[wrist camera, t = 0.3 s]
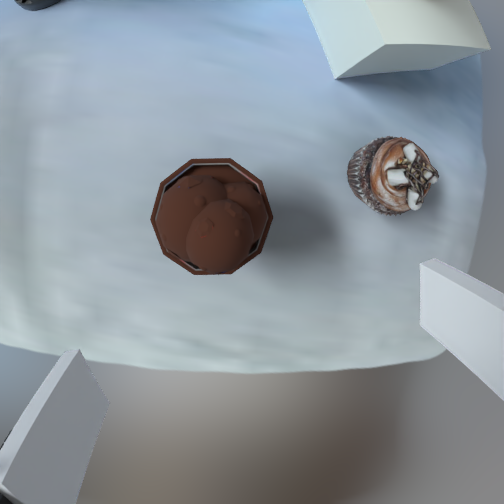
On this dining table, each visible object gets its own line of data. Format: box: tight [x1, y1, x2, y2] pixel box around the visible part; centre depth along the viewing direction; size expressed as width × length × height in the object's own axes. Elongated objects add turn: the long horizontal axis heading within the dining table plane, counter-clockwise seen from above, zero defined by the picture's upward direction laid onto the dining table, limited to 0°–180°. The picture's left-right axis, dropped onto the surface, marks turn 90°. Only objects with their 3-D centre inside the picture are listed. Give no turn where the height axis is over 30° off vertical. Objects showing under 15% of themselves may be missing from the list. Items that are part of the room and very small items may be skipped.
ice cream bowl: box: [150, 158, 273, 275], centre depth 29 cm, size 11×11×15 cm
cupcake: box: [347, 136, 439, 216], centre depth 33 cm, size 10×10×10 cm
